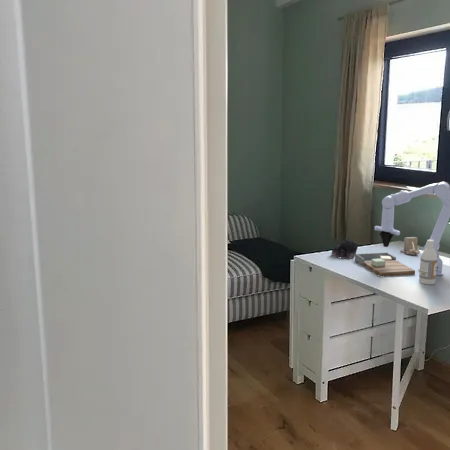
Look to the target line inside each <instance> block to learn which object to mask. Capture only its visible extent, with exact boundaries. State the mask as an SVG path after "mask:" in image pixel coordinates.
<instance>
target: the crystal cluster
mask: <svg viewBox="0 0 450 450" xmlns="http://www.w3.org/2000/svg"><path fill="white" fill-rule="evenodd" d="M358 248H359V246H358V244H357V242H356V241H353V240H352V239H349V238H347V239H346V240H345V241H343V242H342V243H340V244H338V245H337V246H335V247H334V248H333V249H332V250H331V254H332V255H333V256H334V257H335V256H336V257H335V258H339V257H341V258H340V259H353V258H355V254H357V250H358Z"/></svg>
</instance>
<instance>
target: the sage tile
mask: <svg viewBox="0 0 450 450" xmlns="http://www.w3.org/2000/svg"><path fill="white" fill-rule="evenodd" d="M371 264H372V265H374V266H376V267H379V266H385V264H386V261H384V260H383V259H372V261H371Z"/></svg>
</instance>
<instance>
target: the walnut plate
mask: <svg viewBox="0 0 450 450" xmlns="http://www.w3.org/2000/svg"><path fill="white" fill-rule="evenodd" d="M362 266H363V267H364V266H365V267H364V268H366V269H367V268H368V269H367V270H369V269H370V270H371V272H372V273H374V274H376V275H377V276H378V275H379V277H380V276H384V277H395V276H414V275H415V274H416V270H415V269H413V268H412V267H410V266H408V265H406V264H404V263H403V262H400V261H399V260H397V259H396V260H392V261H386V264H385V266H379V267H376V266H374V265H372V264H371V262H364V263H363V265H362ZM370 270H369V271H370Z"/></svg>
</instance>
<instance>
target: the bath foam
mask: <svg viewBox="0 0 450 450" xmlns="http://www.w3.org/2000/svg"><path fill="white" fill-rule="evenodd" d="M426 243H427V247H426V249H425V250H424V249H423V251H422V253H421V255H420V263H419V264H420V265H419V269H420V271H419V275H418V276H419V277H418V282H419V283H420V284H423V285H426V286H427V285H429V286H431V285H434V284H435V283H436V278H437V275H436V268H437V254H436V252H435V250H434V249H433V247H434V240H429V239H426Z"/></svg>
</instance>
